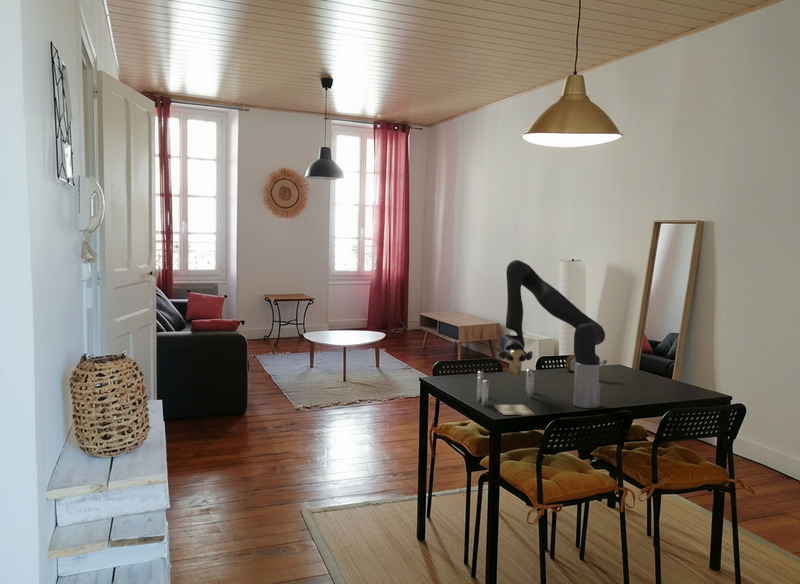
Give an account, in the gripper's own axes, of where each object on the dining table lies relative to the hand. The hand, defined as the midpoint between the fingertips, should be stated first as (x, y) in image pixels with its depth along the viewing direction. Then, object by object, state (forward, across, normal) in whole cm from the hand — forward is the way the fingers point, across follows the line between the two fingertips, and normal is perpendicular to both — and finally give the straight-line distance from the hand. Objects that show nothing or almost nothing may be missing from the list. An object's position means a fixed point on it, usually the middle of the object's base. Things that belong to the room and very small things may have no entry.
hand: (516, 358), depth 228 cm
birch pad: (-3, 0, +21) cm, 21 cm away
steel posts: (-21, -2, +21) cm, 30 cm away
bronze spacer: (-3, 0, +6) cm, 7 cm away
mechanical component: (-68, +42, +21) cm, 82 cm away
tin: (-87, +36, +22) cm, 97 cm away
